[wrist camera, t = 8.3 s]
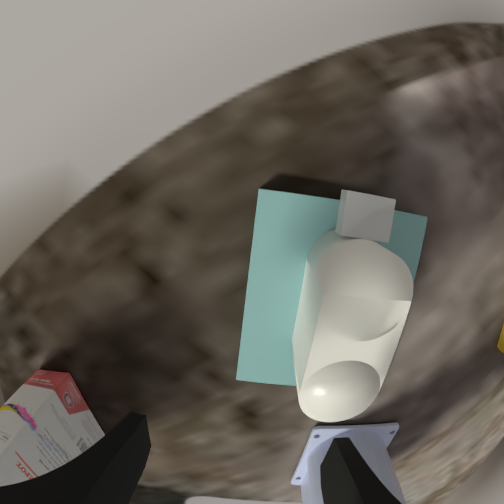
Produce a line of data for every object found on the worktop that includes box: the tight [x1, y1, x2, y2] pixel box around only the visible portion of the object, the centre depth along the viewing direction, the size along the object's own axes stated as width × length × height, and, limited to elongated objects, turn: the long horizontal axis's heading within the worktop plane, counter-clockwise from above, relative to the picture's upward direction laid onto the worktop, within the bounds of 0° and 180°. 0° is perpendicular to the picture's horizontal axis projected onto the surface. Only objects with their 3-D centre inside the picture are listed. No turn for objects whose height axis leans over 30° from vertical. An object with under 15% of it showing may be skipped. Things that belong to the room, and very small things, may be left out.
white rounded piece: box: [291, 190, 413, 422], centre depth 14 cm, size 11×4×5 cm, turn 174°
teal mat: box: [236, 188, 428, 386], centre depth 17 cm, size 12×10×1 cm
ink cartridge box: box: [0, 369, 105, 486], centre depth 15 cm, size 9×5×15 cm, turn 9°
